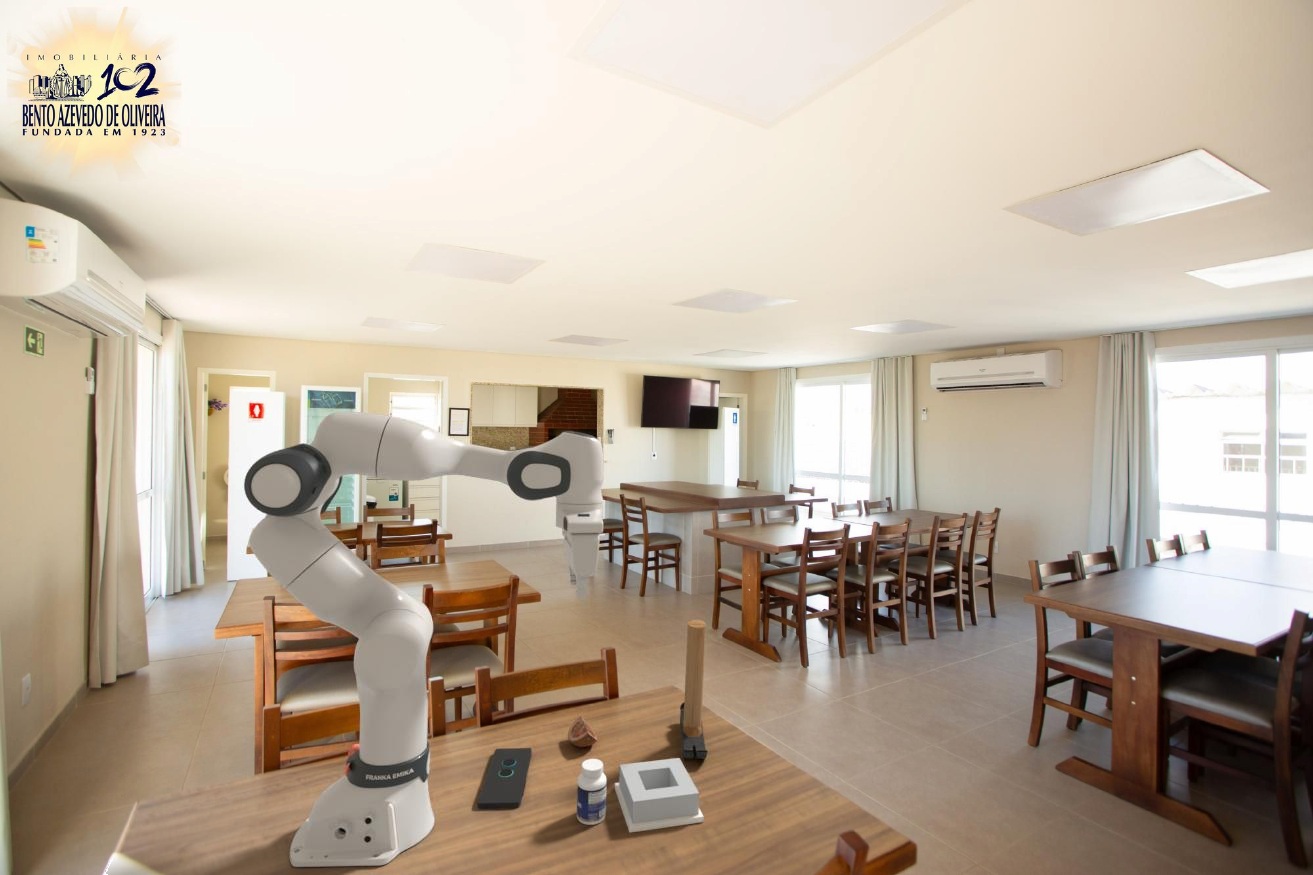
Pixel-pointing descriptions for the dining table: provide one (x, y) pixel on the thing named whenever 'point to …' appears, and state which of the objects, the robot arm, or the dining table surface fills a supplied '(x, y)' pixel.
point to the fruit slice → (581, 733)
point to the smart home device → (505, 779)
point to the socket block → (657, 795)
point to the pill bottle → (591, 793)
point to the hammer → (693, 693)
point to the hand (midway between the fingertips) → (577, 590)
